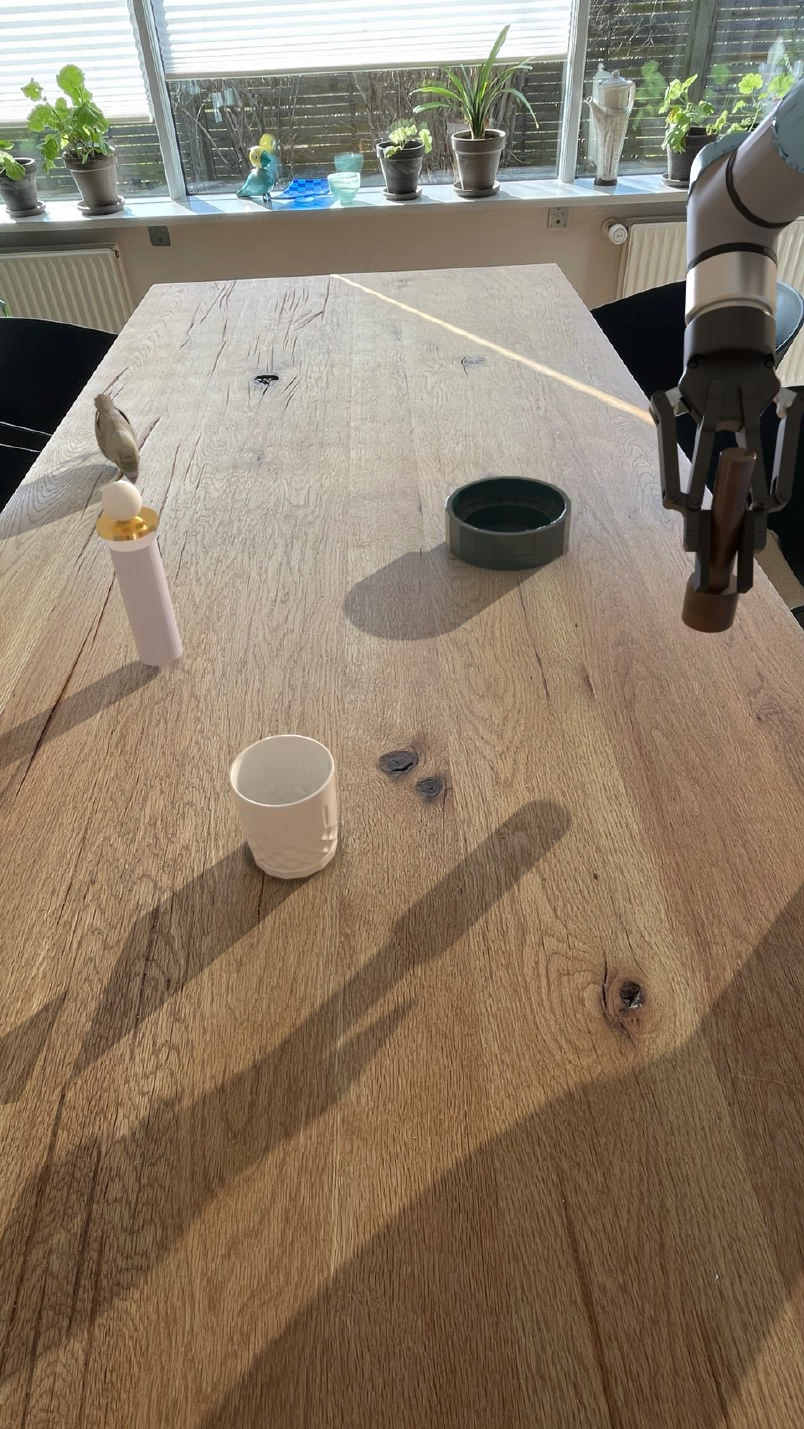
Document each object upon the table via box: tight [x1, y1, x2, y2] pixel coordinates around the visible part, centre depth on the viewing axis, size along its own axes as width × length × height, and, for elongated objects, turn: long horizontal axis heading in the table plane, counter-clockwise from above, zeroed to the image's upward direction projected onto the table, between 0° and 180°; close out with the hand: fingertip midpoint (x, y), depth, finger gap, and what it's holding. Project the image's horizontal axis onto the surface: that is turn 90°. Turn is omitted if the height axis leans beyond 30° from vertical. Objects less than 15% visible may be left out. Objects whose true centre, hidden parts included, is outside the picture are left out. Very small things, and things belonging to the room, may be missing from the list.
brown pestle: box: [681, 446, 756, 634], centre depth 82 cm, size 5×5×16 cm
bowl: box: [444, 475, 572, 572], centre depth 111 cm, size 14×14×6 cm
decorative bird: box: [93, 393, 141, 485], centre depth 135 cm, size 5×16×7 cm, turn 24°
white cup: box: [228, 734, 339, 880], centre depth 74 cm, size 8×8×10 cm
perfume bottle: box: [95, 480, 184, 667], centre depth 93 cm, size 6×6×20 cm
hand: (723, 589), depth 80 cm, fingers closed on brown pestle, 3 cm apart
